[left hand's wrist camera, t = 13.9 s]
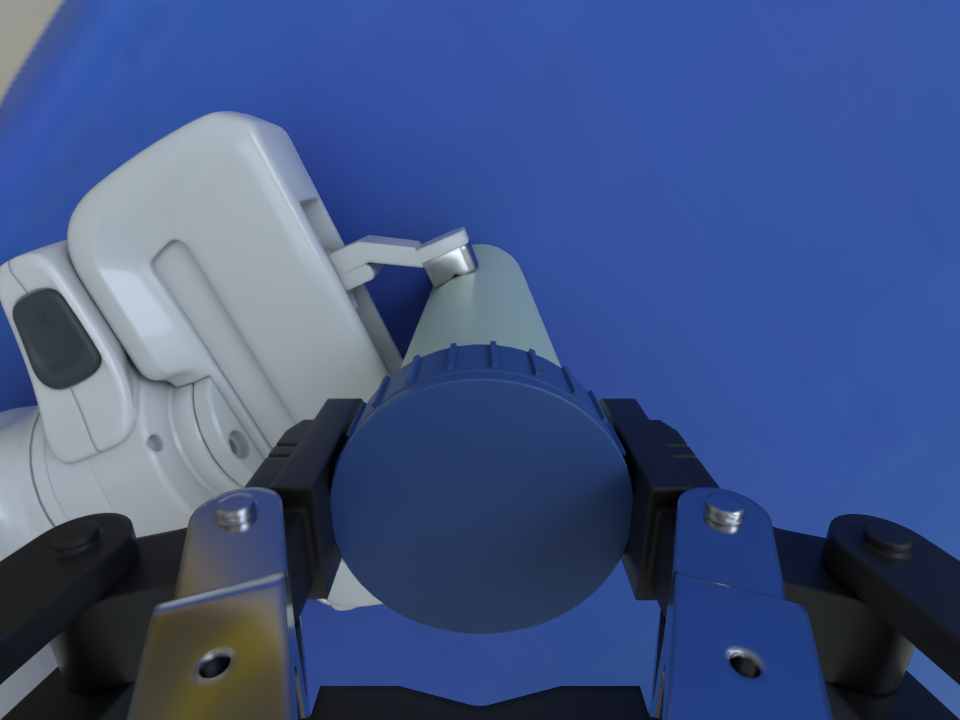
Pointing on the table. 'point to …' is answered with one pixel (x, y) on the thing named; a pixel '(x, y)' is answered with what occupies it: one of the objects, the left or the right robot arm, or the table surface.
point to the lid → (481, 491)
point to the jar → (482, 310)
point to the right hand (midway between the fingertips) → (501, 316)
